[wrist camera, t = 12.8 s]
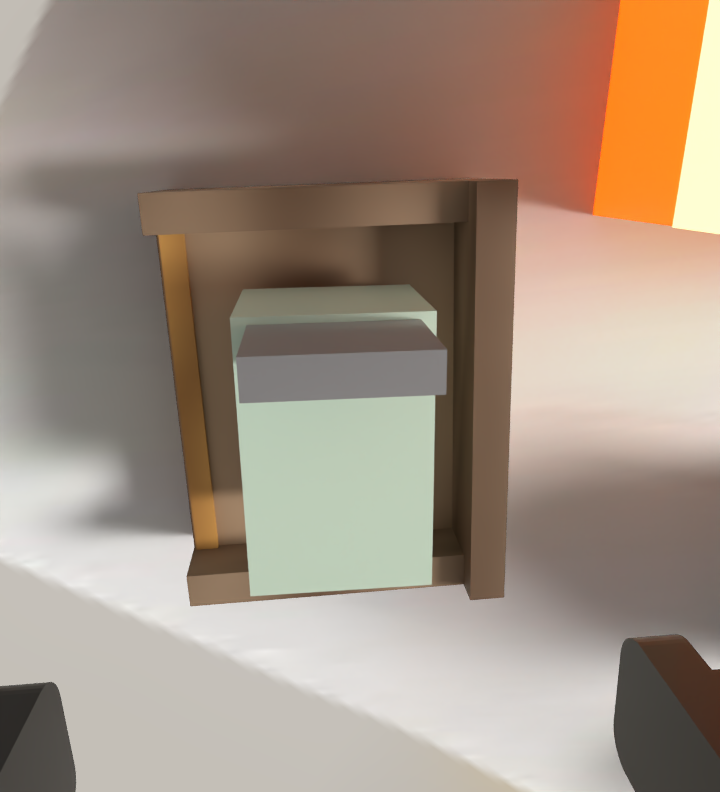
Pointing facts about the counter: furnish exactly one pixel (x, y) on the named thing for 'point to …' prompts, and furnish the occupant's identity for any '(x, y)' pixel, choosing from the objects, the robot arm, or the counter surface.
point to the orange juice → (663, 117)
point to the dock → (328, 267)
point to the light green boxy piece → (337, 435)
